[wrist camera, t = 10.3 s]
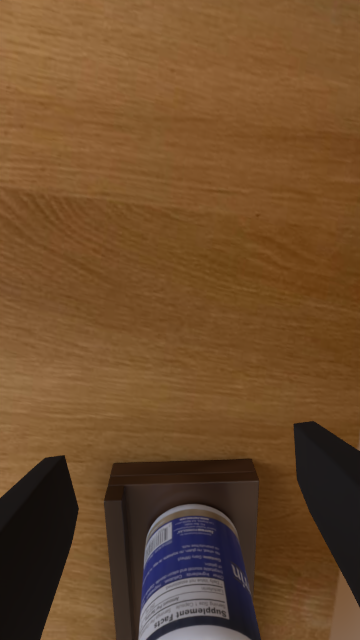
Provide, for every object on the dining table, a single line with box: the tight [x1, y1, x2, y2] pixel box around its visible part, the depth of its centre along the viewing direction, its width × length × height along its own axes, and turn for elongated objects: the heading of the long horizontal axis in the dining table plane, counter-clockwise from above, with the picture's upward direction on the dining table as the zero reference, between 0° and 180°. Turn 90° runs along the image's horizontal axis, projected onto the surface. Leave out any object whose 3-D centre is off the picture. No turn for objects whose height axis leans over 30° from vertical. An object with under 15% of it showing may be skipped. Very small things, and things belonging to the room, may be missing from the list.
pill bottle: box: [138, 504, 261, 640], centre depth 16 cm, size 6×6×10 cm
